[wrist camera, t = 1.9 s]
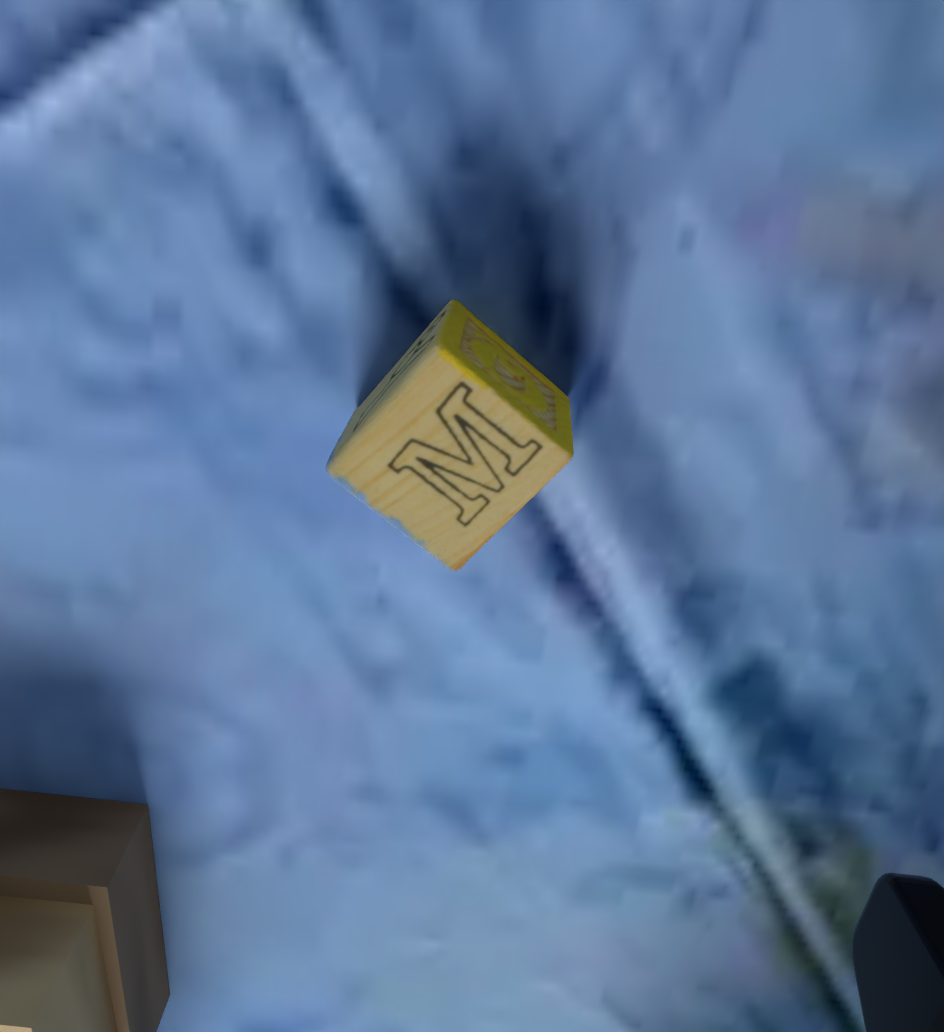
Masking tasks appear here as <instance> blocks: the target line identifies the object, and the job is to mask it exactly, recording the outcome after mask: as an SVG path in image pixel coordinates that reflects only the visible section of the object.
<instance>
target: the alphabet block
mask: <svg viewBox="0 0 944 1032" xmlns="http://www.w3.org/2000/svg"><path fill="white" fill-rule="evenodd" d="M572 457H573V437H572V427H571V415H570V403H569V398H568V397H567V396H566V395H565V393H564V392H562V391H561V390H560V389H559V388H558V387H557V386H556V385H555V384H553V383H552V382H551V381H550V380H549V379H548V378H546V377H545V376H544V375H543V374H542V373H541V372H539V371H538V370H537V369H536V368H535V367H533V366H532V365H531V364H530V363H529V362H528V361H527V360H526V359H524V358H523V357H522V356H521V355H520V354H518V353H517V352H516V351H515V350H514V349H513V348H512V347H511V346H510V345H509V344H507V343H506V342H505V341H503V340H502V339H501V338H500V337H499V336H498V335H497V334H496V333H495V332H494V331H492V330H491V329H490V328H488V327H487V326H486V325H485V324H484V323H482V322H481V321H480V320H479V319H478V318H476V317H475V316H474V315H473V314H472V313H471V312H470V311H469V310H467V309H466V308H465V307H464V306H463V305H462V304H461V303H460V302H458V301H456V300H453V299H452V300H450V301H449V302H448V303H447V304H446V306H445V307H444V308H443V309H442V310H441V312H440V313H439V314H438V315H437V316H436V317H435V318H434V320H433V321H432V322H431V323H430V324H429V326H428V327H427V328H426V329H425V330H424V331H423V333H422V334H421V335H420V336H419V337H418V338H417V340H416V341H415V342H414V343H413V344H412V346H411V347H410V348H409V349H408V350H407V352H406V353H405V354H404V355H403V356H402V357H401V359H400V360H399V361H398V362H397V363H396V364H395V366H394V367H393V368H392V369H391V370H390V371H389V372H388V374H387V375H386V376H385V377H384V378H383V379H382V381H381V382H380V383H379V384H378V385H377V386H376V388H375V389H374V390H373V391H372V392H371V393H370V395H369V396H368V397H367V398H366V399H365V400H364V401H363V403H362V404H361V405H360V406H359V407H358V408H357V409H356V410H355V411H354V413H353V415H352V417H351V418H350V420H349V422H348V424H347V426H346V428H345V429H344V431H343V433H342V435H341V437H340V438H339V440H338V442H337V444H336V446H335V448H334V449H333V451H332V453H331V455H330V457H329V459H328V462H327V465H326V471H327V473H328V475H329V476H330V477H331V478H332V479H333V480H334V481H335V482H336V483H337V484H339V485H340V486H342V487H343V488H345V489H346V490H347V491H348V492H349V493H350V494H351V495H353V496H354V497H355V498H357V499H358V500H360V501H361V502H363V503H364V504H365V505H366V506H368V507H369V508H370V509H372V510H373V511H374V512H375V513H377V514H378V515H379V516H381V517H382V518H383V519H385V520H386V521H387V522H388V523H389V524H390V525H392V526H393V527H395V528H396V529H398V530H399V531H400V532H401V533H402V534H404V535H405V536H406V537H407V538H409V539H410V540H411V541H412V542H413V543H415V544H417V545H418V546H419V547H420V548H422V549H423V550H425V551H426V552H428V553H429V554H430V555H431V556H433V557H434V558H436V559H437V560H438V561H439V562H440V563H441V564H442V565H443V566H444V567H446V568H447V569H448V570H450V571H452V572H455V571H457V570H459V569H460V568H461V567H462V566H463V565H464V564H465V563H466V562H467V561H468V560H469V559H470V558H471V557H472V556H473V555H474V554H475V553H476V552H477V551H478V550H479V549H480V548H481V547H482V546H483V545H484V544H485V543H486V542H487V541H488V540H489V539H490V538H491V537H492V536H493V535H494V534H495V533H496V532H497V531H498V530H499V529H501V528H502V527H503V526H504V525H505V524H506V523H507V522H508V521H509V520H510V519H511V518H512V517H513V516H514V515H515V514H516V513H517V512H518V511H519V510H520V509H521V508H522V507H523V506H524V505H525V504H526V503H527V502H528V501H529V500H530V499H531V498H532V497H534V496H535V495H536V494H537V493H538V492H539V491H540V490H541V489H542V488H543V487H544V486H545V485H546V484H547V483H548V482H549V481H550V480H551V479H552V478H553V477H554V476H555V475H556V474H557V473H558V472H559V471H560V470H561V469H562V468H563V467H564V466H565V465H566V464H567V463H568V462H569V461H570V460H571V459H572Z"/></svg>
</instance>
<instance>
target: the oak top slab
mask: <svg viewBox="0 0 944 1032" xmlns="http://www.w3.org/2000/svg"><path fill="white" fill-rule="evenodd" d="M0 1032H117V1026H116V1021H115V1016H114V1011H113V1005H112V1000H111V995H110V990H109V984H108V979H107V974H106V969H105V964H104V958H103V953H102V948H101V943H100V938H99V933H98V927H97V922H96V917H95V912H94V907H93V905H89V904H79V903H69V902H59V901H49V900H39V899H29V898H19V897H9V896H0Z"/></svg>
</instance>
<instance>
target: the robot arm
mask: <svg viewBox="0 0 944 1032" xmlns="http://www.w3.org/2000/svg"><path fill="white" fill-rule="evenodd" d="M852 958H853V964H854V970H855V975H856V981H857V986H858V991H859V997H860V1002H861V1007H862V1013H863V1018H864V1023H865V1029H866V1032H944V888H943V887H942V886H941V885H939V884H938V883H937V882H935V881H934V880H932V879H930V878H927V877H923V876H914V875H905V874H896V873H887V874H884V875H883V876H881V877H880V878H879V879H878V880H877V882H876V884H875V886H874V888H873V890H872V893H871V895H870V897H869V899H868V901H867V904H866V906H865V908H864V910H863V912H862V915H861V917H860V919H859V921H858V923H857V926H856V928H855V931H854V934H853V939H852Z"/></svg>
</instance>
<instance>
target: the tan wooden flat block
mask: <svg viewBox="0 0 944 1032" xmlns="http://www.w3.org/2000/svg"><path fill="white" fill-rule="evenodd" d="M0 896H9V897H19V898H29V899H39V900H49V901H59V902H69V903H79V904H89V905H93V907H94V912H95V917H96V922H97V927H98V933H99V938H100V943H101V948H102V953H103V958H104V964H105V969H106V974H107V979H108V984H109V990H110V995H111V1000H112V1005H113V1011H114V1016H115V1021H116V1026H117V1032H156V1031H157V1028H158V1025H159V1023H160V1020H161V1017H162V1015H163V1012H164V1009H165V1007H166V1004H167V1001H168V999H169V996H170V991H169V982H168V973H167V965H166V956H165V947H164V939H163V930H162V921H161V913H160V904H159V895H158V886H157V878H156V869H155V860H154V852H153V843H152V834H151V826H150V817H149V808H148V805H147V804H138V803H129V802H120V801H111V800H101V799H92V798H83V797H74V796H65V795H56V794H46V793H37V792H28V791H19V790H10V789H1V788H0Z"/></svg>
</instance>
